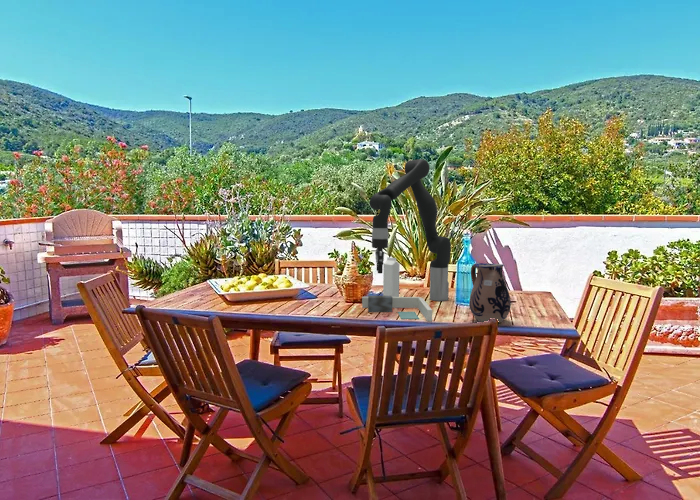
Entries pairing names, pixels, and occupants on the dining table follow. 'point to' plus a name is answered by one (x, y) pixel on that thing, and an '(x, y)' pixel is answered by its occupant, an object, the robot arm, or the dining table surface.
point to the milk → (391, 278)
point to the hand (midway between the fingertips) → (379, 272)
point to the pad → (408, 315)
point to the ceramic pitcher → (489, 293)
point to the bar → (380, 303)
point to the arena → (407, 305)
